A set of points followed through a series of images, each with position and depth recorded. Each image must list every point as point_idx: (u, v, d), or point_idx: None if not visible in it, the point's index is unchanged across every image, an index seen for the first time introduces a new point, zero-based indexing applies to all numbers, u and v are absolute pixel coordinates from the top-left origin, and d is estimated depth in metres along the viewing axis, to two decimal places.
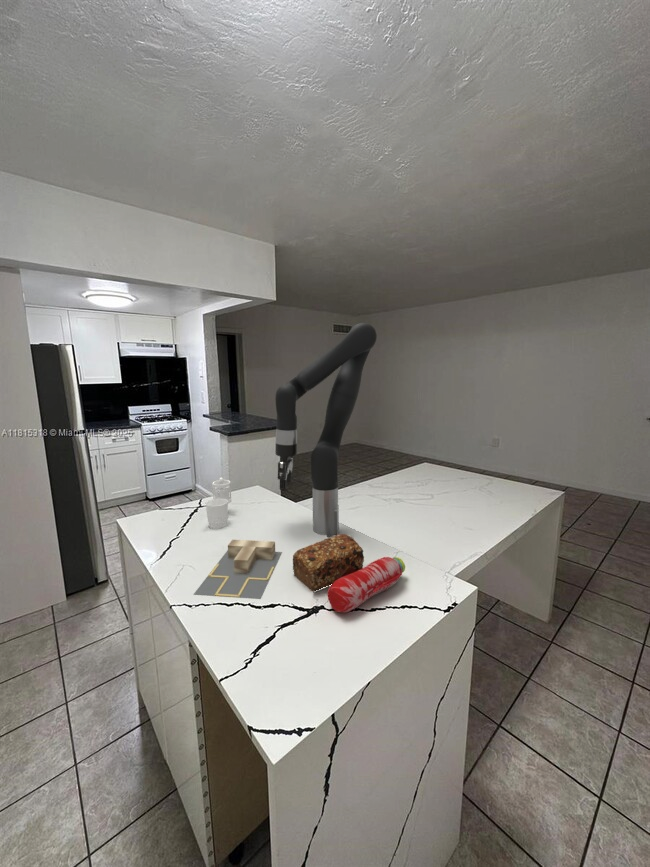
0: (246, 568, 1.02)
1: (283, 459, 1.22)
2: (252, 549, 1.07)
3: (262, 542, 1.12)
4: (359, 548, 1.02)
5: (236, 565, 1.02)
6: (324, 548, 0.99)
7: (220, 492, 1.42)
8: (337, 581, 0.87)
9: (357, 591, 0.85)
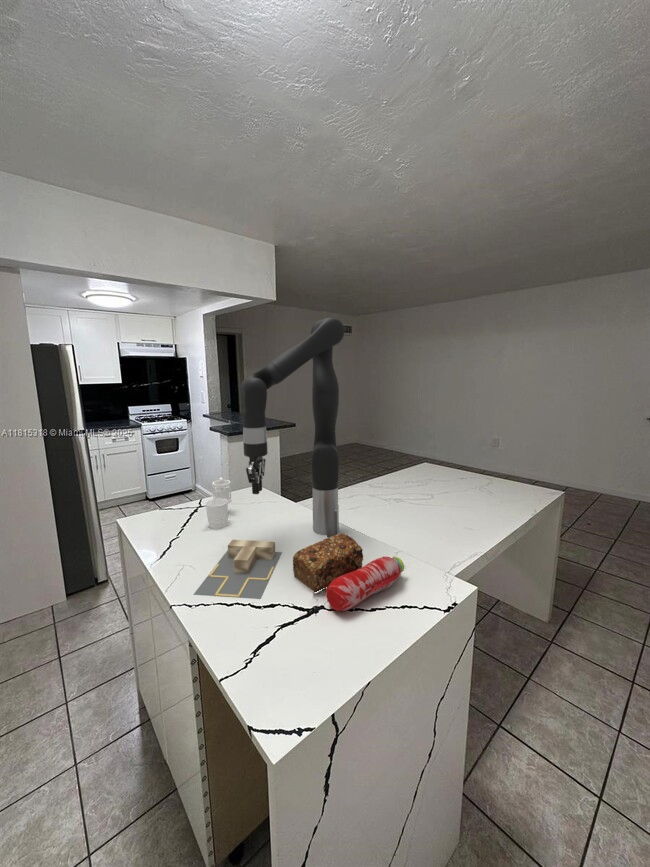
0: (246, 568, 1.02)
1: (252, 460, 1.11)
2: (252, 549, 1.07)
3: (262, 542, 1.12)
4: (358, 547, 1.03)
5: (236, 565, 1.02)
6: (325, 548, 0.99)
7: (220, 492, 1.42)
8: (335, 580, 0.88)
9: (355, 590, 0.86)
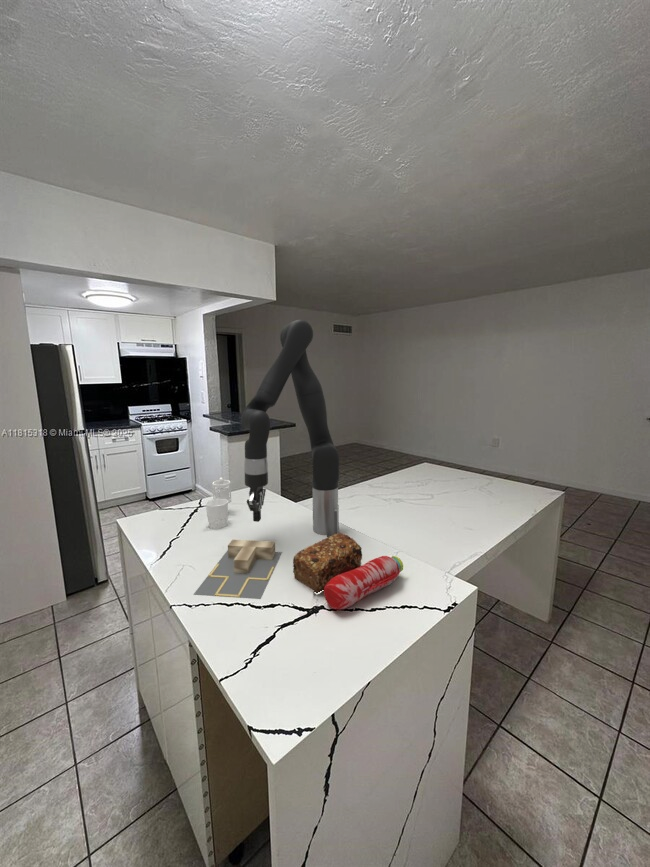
0: (246, 568, 1.02)
1: (252, 490, 1.13)
2: (252, 549, 1.07)
3: (262, 542, 1.12)
4: (358, 546, 1.03)
5: (236, 565, 1.02)
6: (325, 548, 0.99)
7: (220, 492, 1.42)
8: (333, 578, 0.88)
9: (352, 589, 0.86)
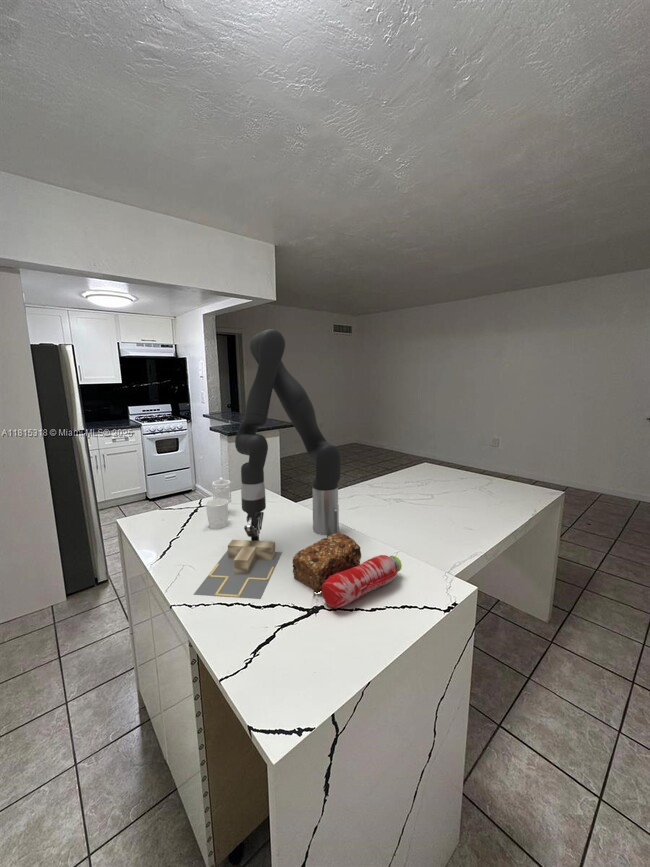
0: (246, 568, 1.02)
1: (250, 515, 1.10)
2: (252, 549, 1.07)
3: (262, 542, 1.12)
4: (357, 545, 1.04)
5: (236, 565, 1.02)
6: (324, 548, 0.99)
7: (220, 492, 1.42)
8: (331, 577, 0.89)
9: (350, 588, 0.87)
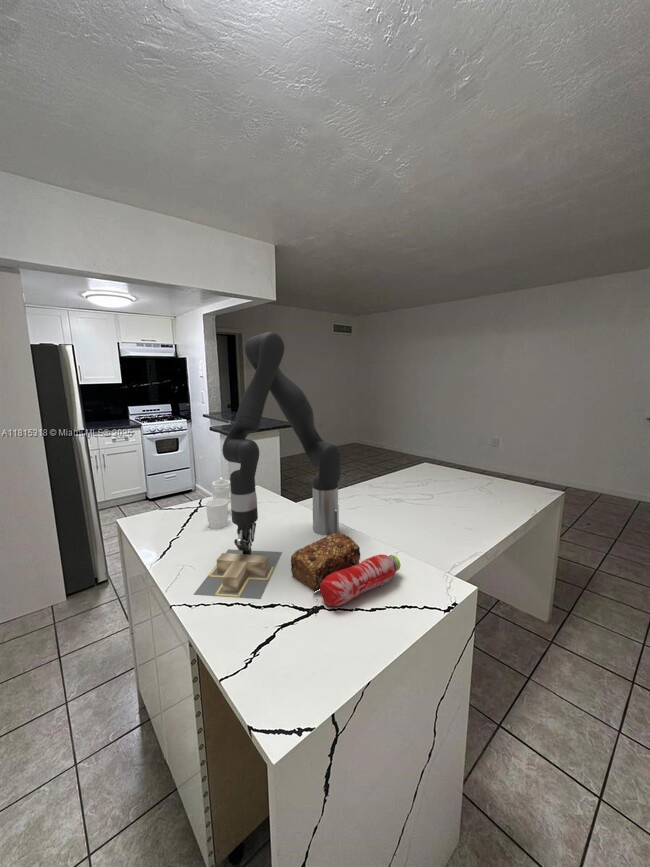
0: (235, 586, 0.93)
1: (240, 528, 1.01)
2: (243, 564, 0.99)
3: (254, 556, 1.03)
4: (356, 545, 1.03)
5: (225, 583, 0.93)
6: (323, 547, 0.99)
7: (220, 492, 1.42)
8: (329, 575, 0.90)
9: (348, 586, 0.87)
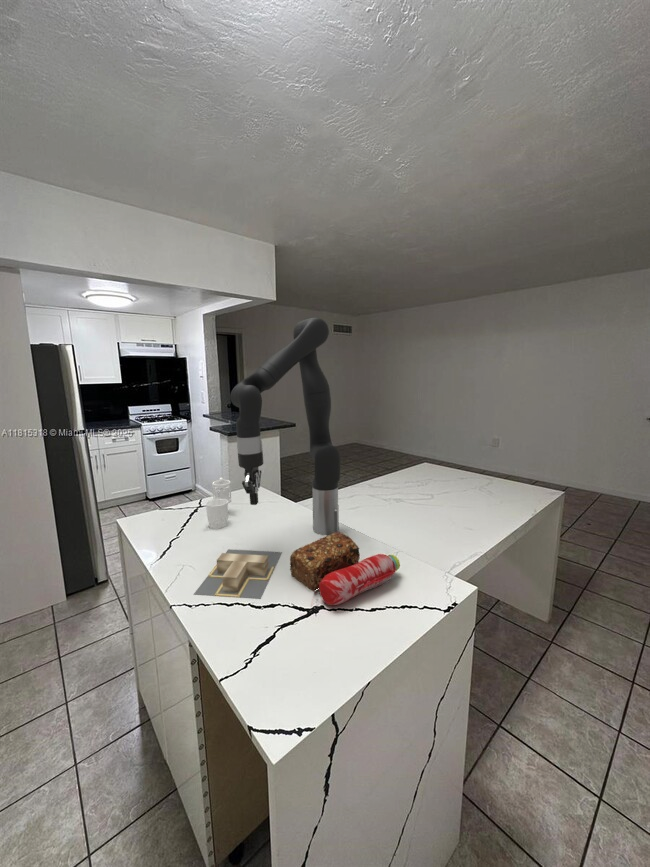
0: (235, 586, 0.93)
1: (247, 471, 1.06)
2: (243, 564, 0.99)
3: (254, 556, 1.03)
4: (355, 545, 1.03)
5: (225, 583, 0.93)
6: (322, 547, 0.99)
7: (220, 492, 1.42)
8: (328, 575, 0.90)
9: (346, 586, 0.88)
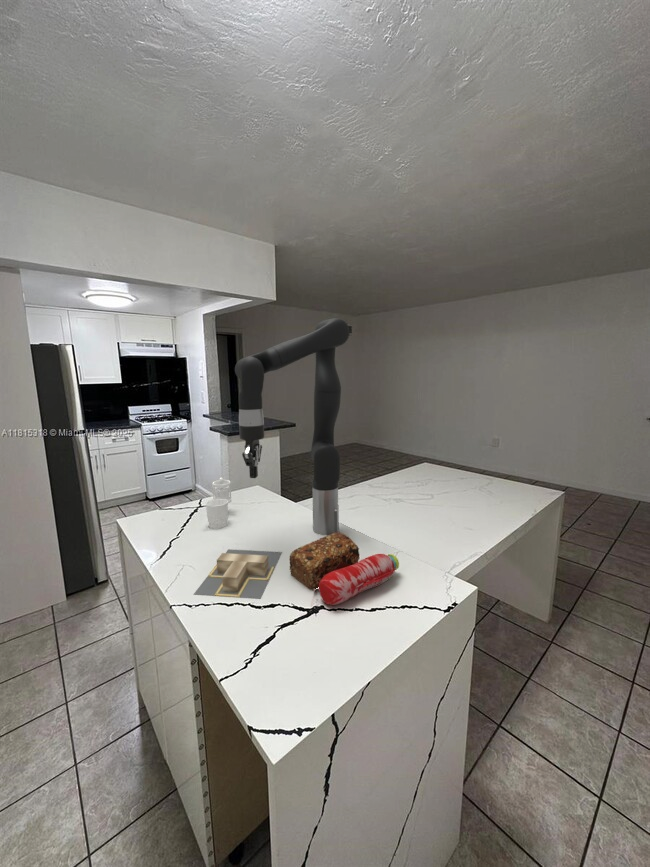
0: (235, 586, 0.93)
1: (248, 443, 1.07)
2: (243, 564, 0.99)
3: (254, 556, 1.03)
4: (355, 546, 1.03)
5: (225, 583, 0.93)
6: (321, 547, 1.00)
7: (220, 492, 1.42)
8: (328, 574, 0.90)
9: (346, 585, 0.88)
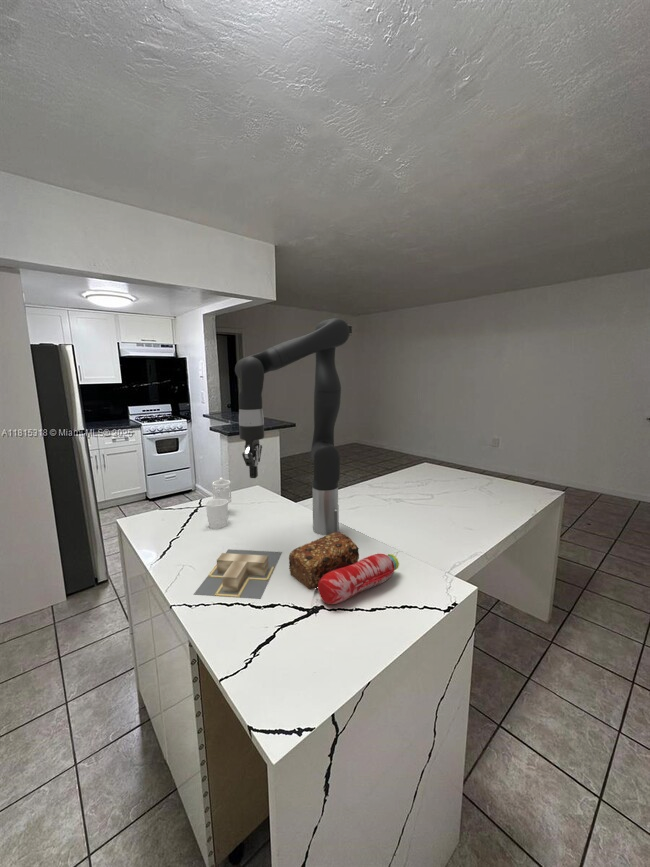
0: (235, 586, 0.93)
1: (248, 443, 1.07)
2: (243, 564, 0.99)
3: (254, 556, 1.03)
4: (354, 546, 1.03)
5: (225, 583, 0.93)
6: (320, 546, 1.00)
7: (220, 492, 1.42)
8: (327, 574, 0.90)
9: (345, 585, 0.88)
